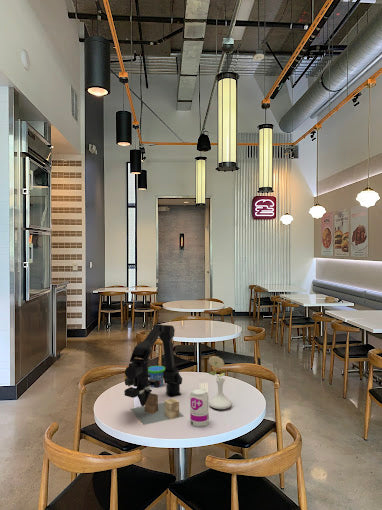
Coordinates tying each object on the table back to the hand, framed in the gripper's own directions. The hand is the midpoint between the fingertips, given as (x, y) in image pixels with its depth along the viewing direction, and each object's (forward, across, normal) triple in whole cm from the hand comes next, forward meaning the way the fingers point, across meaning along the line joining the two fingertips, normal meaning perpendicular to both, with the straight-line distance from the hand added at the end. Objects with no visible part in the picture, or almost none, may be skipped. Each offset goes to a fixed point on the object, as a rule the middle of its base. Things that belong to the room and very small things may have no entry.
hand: (142, 405), depth 180 cm
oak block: (+5, -8, +11) cm, 15 cm away
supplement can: (+6, -8, +27) cm, 28 cm away
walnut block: (+5, -6, 0) cm, 8 cm away
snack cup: (+6, -38, -23) cm, 45 cm away
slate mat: (+5, -7, +3) cm, 9 cm away
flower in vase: (+6, -31, +24) cm, 39 cm away
